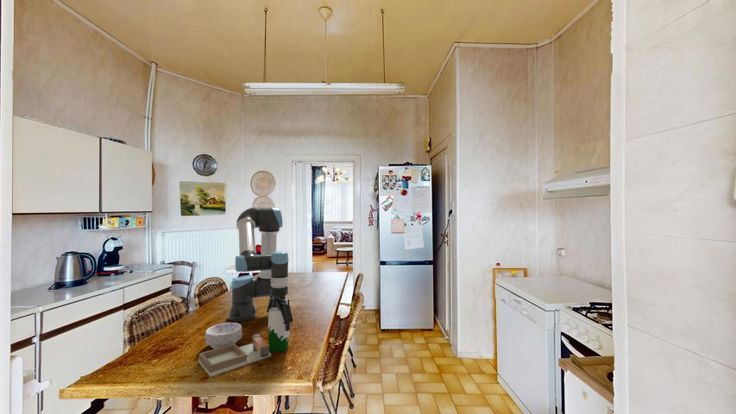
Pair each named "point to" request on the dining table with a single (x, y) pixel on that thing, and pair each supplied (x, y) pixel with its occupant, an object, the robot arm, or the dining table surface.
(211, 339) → the paper bowls
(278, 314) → the soya milk
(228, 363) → the seat board
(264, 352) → the leg bar
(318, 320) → the dining table surface
